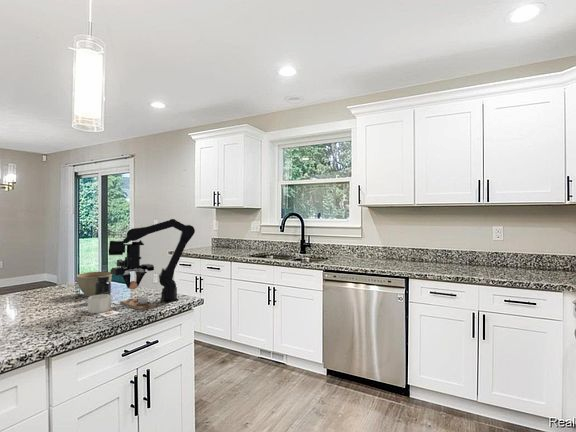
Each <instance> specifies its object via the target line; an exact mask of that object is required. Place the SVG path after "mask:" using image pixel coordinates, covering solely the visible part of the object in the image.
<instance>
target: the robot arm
mask: <svg viewBox="0 0 576 432" xmlns="http://www.w3.org/2000/svg"><path fill="white" fill-rule="evenodd" d="M170 228H174V229H176V230H178V231H180V236H179V241H178V243H177V244H176V246H175V249H174V251H173V253H172V255H171V257H170V259H169V262H168V264H167V266H166V267H165V268H163V267H162V268H161V272H160V273H159V274H158V282H159V285H161V286H162V287H163V288H162V290H161V294H160V295H161V298H160V301H161V302H165V303H171V302H175V301H178V300H179V298H178V293H177V292H178V287H177V283H176V281H175V280H174V279H173V278H174V273H175V269H176V267H177V266H178V263H179V261H180V259H181V257H182V255H183V252H184V250H185V248H186V247H187V244H188V243H189V241H190V240H191V239H192V237H193V236H194V234H195V232H196V229H195V228H194V226H193V225H191V224H184V223H182V222H180V221H178V220H176V219H174V218H170V219H169V220H165V221H162V222H158V223H155V224H151V225H148V226H142V227H141V226H140V227H134V228H131V229H129V230H128V231H126V237H125V238H124V239H123V240H110V241H109V245H108V246H109V247H108V255H109V256H123V254H126V256H124V260H123V259H120V258H119V259H116V266H115V267H112V268H111V269H110V271H109V272H110V274H112V276H121V277H122V278H123V280H124V283H125V285H126V288H127V289H129V287H130V282H131V277H132V276H131V273H130V272H135V274H136V275H135V276H136V277H135V279H136V280H135V282H137V287H139V286H140V284H141V282H142V279H143V278H144V276H145V275H146V274H147V273H148V272H151V271H155V266H154V264H151V263H144V264H141V260H142V256H141V246H145V243H144V242H143V241H142V238H144V237H145V236H148V235H149V234H153V233H156V232H160V231H163V230H166V229H167V230H168V229H170ZM138 240H139V241H138ZM131 241H132V242H131ZM130 242H131V243H130Z"/></svg>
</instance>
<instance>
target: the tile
mask: <svg viewBox="0 0 576 432" xmlns="http://www.w3.org/2000/svg"><path fill="white" fill-rule="evenodd" d="M98 315H99V316H102V317H104V318H107V317H111V316H117V315H120V312H118V311H115V310H109V311H106V312H101V313H98Z"/></svg>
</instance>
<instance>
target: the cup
mask: <svg viewBox="0 0 576 432" xmlns="http://www.w3.org/2000/svg"><path fill="white" fill-rule="evenodd" d="M111 310H112V294H111V295H108V294H100V295H94V296H90V297H88V296H87V312H88V313H89V314H99V313H104V312H108V311H111Z"/></svg>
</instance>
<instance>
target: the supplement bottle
mask: <svg viewBox="0 0 576 432" xmlns="http://www.w3.org/2000/svg"><path fill="white" fill-rule="evenodd" d="M108 280H109V276H99V277H98V280H97V281H98V282H97V283H96V284H95V295H100V294H108V295H111V296H112V293H111V292H112V283H110V282H109V281H108Z"/></svg>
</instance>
